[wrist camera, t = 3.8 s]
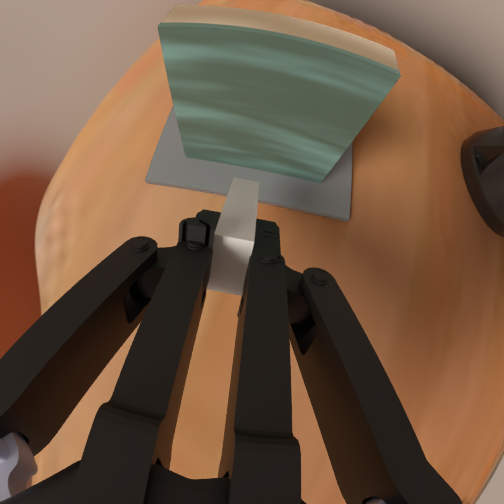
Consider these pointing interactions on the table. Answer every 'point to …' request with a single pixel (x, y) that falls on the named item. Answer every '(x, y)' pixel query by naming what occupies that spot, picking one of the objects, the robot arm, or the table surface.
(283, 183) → the mat
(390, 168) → the table surface
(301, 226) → the table surface
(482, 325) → the table surface
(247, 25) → the plaque
